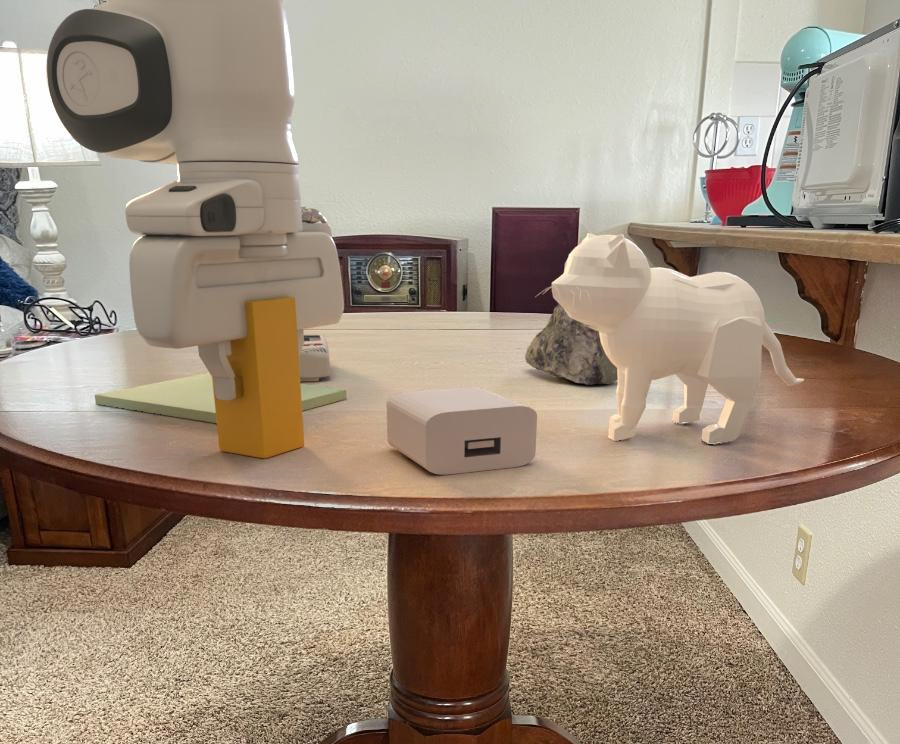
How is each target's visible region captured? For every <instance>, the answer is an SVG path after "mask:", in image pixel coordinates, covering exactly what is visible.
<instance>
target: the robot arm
mask: <svg viewBox="0 0 900 744" xmlns="http://www.w3.org/2000/svg"><path fill="white" fill-rule="evenodd" d="M105 1H106V2H104V3H101V4H98V5H96V6H95V7H92V8H83V9H79V10H76V11H74V12H72V13H71V14H69V15H67V16H66V18H64V19H63V20H62V22H61V23H60V24H59V26H57V28H56V30H55V31H54V34H53V35H52V38H51V40H50V44H49V46H48V50H47V56H46V66H45V67H46V69H45V73H46V84H47V89H48V94H49V98H50V101H51V105H52V107H53V109H54V112H55V114H56V116H57V117H58V120H59V122H60V123H61V125H62V126H63V127H64V129H65V131H66V132H67V133H68V134H69V135H70V137H71V138H72V139H74V141H75V142H77V143H78V144H79V145H80V146H82V147H83V148H85V149H87V150H89V151H91V152H95V153H98V154H100V155H102V156H107V157H110V158H115V159H122V160H133V161H138V162H141V163H152V164H163V165H174V166H175V165H176V167H177V176H178V179H177V180H174V181H171V182H169V183H167V184H165V185H163V186H161V187H159V188H156V189H154V190H153V191H150V192H148V193H145V194H143V195H140V196H139V197H136V198H134V199H132V200H130V201H129V202H128V203H127V204H126V206H125V209H124V210H125V211H124V213H125V221H126V226H127V228H128V230H129V232H131V233H132V234H134V235H139V236H140V237H138V238H137V239H136V240H135V241H134V243H133V244H132V247H131V248H130V254H129V262H128V263H129V265H128V267H129V269H128V270H129V285H130V297H131V306H132V311H133V319H134V324H135V327H136V330H137V333H138V334H139V335H140V337H141V339H143V341H144V342H145V343H146V344H147V345H148V346H150V347H156V348H163V349H173V350H174V349H175V350H177V349H184V348H193V347H197V351H198V357H199V358H200V360H201V361H202V363H203V364H204V367H205V368H206V370H207V371H208V373H210V374H211V376H213V380H214V390H215V396H216V398H217V399H219V400H224V401H231V400H235V399H239V398H242V397H243V395H244V389H243V388H242V387H243V378H242V376H238V375H235V374H234V372H233V370H232V368H231V366H230V364H229V361H228V359H227V357H226V356H230V355H231V354H232V352H231V340H237V339H243V338H246V337H247V319H246V308H245V302H246V301H254V300H263V299H273V298H282V297H294V298H295V303H296V319H297V335H298V351H299V356H300V353H301V350H302V347H303V345H304V335H305V333H304V330H306V329H314V328H318V327H319V328H320V327H324V326H325V327H327V326H331V325H337V324H339V323H340V322H341V319H342V318H343V317H342V316H343V313H344V310H345V299H344V298H345V297H344V288H343V280H342V272H341V266H340V259H339V255H338V250H337V247H336V243H335V241H334V239H333V234H332V233H333V232H332V227H331V225H330V224H329V223H328V222H327V219H326V218H325V217H324V216H323V215H322V214H321V212H320V210H318V209H316V208H311V207H310V208H304V209H302V201H301V200H302V197H301V182H300V181H301V180H300V179H301V178H300V166H299V164H300V162H299V157H298V153H297V151H296V147H295V144H294V140H293V134H292V133H293V132H292V119H293V118H292V117H293V113H294V112H293V111H294V107H295V98H296V95H295V94H296V92H295V79H294V78H295V77H294V64H293V56H292V55H293V54H292V46H291V36H290V30H289V22H288V17H287V10H286V6H285V2H284V0H105Z"/></svg>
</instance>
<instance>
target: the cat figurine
mask: <svg viewBox="0 0 900 744" xmlns="http://www.w3.org/2000/svg"><path fill="white" fill-rule="evenodd" d="M550 289H551V293H552V294H551V295H552V298H553V299H554V300H555V301H556V303H557V304H558V305H559V304H560V305H561V306H562V307H563V308H564V310H565V311H566V313H567V314H568V316H569V317H570V318H572V319H574V320H576V321H579V322H581V323H583V325H584V326H587V327H589V328H591V329H594V330H596V331H599V335H600V340H601V344H602V347H603V349H604V352H605V354H606V355H607V357H608V358H609V360H610V361H611V363H612V364H614V365H615V366H616V367H617V374H618V380H617V387H616V390H615V394H616V395H615V396H616V405H617V413H615V414H612V415H611V416H609V422H608V434H607V438H608V439H610V440H611V441H613V442H616V441H617V442H619V440H621V441H624V440H626V439H630V438H634V437H635V436H636V429H637V428H636V427H637V425H638V423H639V421H640V419H641V418H642V416H643V414H644V411H645V409H646V407H647V406H646V403H647V401H646V400H647V398H648V394H649V391H650V388H651V384H652V381H656V380H660V379H663V378H667V377H671V376H673V375H675V376H676V377H677V378H678V379H679V380H680V382H682V383H683V405H680V406H678V407H677V408H674V409H673V410H672V419H671V421H672V420H674V421H676V422H678V423H682V422H691V423H693V422H692V421H694V422H697V421H699V420H700V417H701V416H700V415H701V413H702V410H703V407H704V402H705V398H706V394H707V390H708V386H709V385H710V386H711V387H712V388H713V389H714V390H716V391H717V392H718V393H719V394H720V395H721V396H722V397H724V398H725V399H726V400H725V403H724V405H723V408H722V410H721V413H720V415H719V418H718V421H717V423H716V424H709V425H707V426H705V427H702V431H701V437H700V438H701V439H702V440H704V441H706V442H708V443H717V442H725V443H729V442H735V441H736V440H737V439H738V438H739V437H740V434H741V432H742V429H743V427H744V424H745V423H746V420H747V417H748V415H749V412H750V409H751V407H752V404H753V401H754V398H755V396H756V392H757V390H758V386H759V383H760V380H761V378H762V354H763V353H762V349H763V347H764V348H765V349H766V350H768V352H769V354H770V357H771V361H772V366H773V368H774V372H775V374H776V376H778V377H779V379H781V380H782V381H783V382H784V383H785V384H786V385H787V386H788V387H792V386H796V385H799V384H801V383H803V382H804V381H805V379H804V378H798V377H796V376H795V374H793V372H792V371H791V370H790V368H789V367H788V365H787V363H786V358H785V355H784V351H783V348H782V345H781V342H780V341H779V339H778V338H777V336H776V335H775V333H774V332H773V330H772V329H771V328H770V326H769V325H768V323H767V322H766V315H765V309H764V306H763V303H762V300H761V298H760V296H759V295H758V293H757V292H756V290H755V289H754V288H753V286H752V285H750V283H748V282H747V281H746V280H744V279H743V278H741V277H739V276H738V275H735V274H733V273H730V272H728V271H727V272H726V271H713V272H707V273H704V274H698V275H694V276H688V275H686V274H684V273H682V272H679V271H677V270H674V269H672V268H666V267H651V266H650V264H649V261H648V258H647V257H646V255H645V254H644V252H643V250H642V249H640V247H638V246H637V245H636V244H635V243H634V242H633V241H631V240H630V239H628V238H626V237H625V235H624V233H620V234H619V233H618V234H599V235H596V234H594V233H591V232H588V233H587V234H586V237H584V238H583V239H582V240H581V243H579V244H578V245H577V246H575V247H574V248H573V249H572V250H571V251H570V253H568V257H567V259H566V261H565V262H564V270H563V273H562V274H561V275H560V276H559V277H558V278H556V279H555V280H554V281H552V282H551V286H549V287H546V288H545V289H544V290H542V291H541V292H540V293H538V294H537V295H535V298H536V297H537V296H539V295H540V294H542V295H544V294H545V293H546V291H549V290H550ZM701 439H700V440H701ZM728 441H729V442H728Z"/></svg>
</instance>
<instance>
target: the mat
mask: <svg viewBox="0 0 900 744" xmlns="http://www.w3.org/2000/svg"><path fill="white" fill-rule="evenodd" d="M300 384H301V400H302V412H303V411H307V410H311V409H314V408H318V407H321V406H326V405H330V404H332V403H336V402H340V401H344V400H347V396H348V395H347V389H345V388H339V387H330V386H329V387H328V386H321V385H314V384H313V385H312V384H304V383H300ZM94 400H95V405H97V404H100V405H99V406H103V405H106V406H105V407H110V406H111V407H110V408H116V407H118V408H117V409H122V408H124V409H123V410H130V411H135V410H137V411H136V412H141V411H143V412H142V413H149V414H154V413H155V414H154V415H160V414H161V415H162V416H166V417H167V416H168V417H174V418H179V419H185V420H186V419H187V420H193V421H199V422H206V423H213V424H217V421H216V411H215V401H214V391H213V381H212V376H211V374H210V373H209V372H206V373H205V372H204V373H199V374H194V375H188V376H183V377H178V378H174V379H169V380H162V381H157V382H153V383H147V384H143V385H137V386H131V387H127V388H122V389H117V390H111V391H106V392H101V393H96V394H95V393H94Z"/></svg>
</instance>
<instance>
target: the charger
mask: <svg viewBox="0 0 900 744" xmlns="http://www.w3.org/2000/svg"><path fill="white" fill-rule="evenodd" d="M537 426H538V413H537V411H536V410H535V409H534V408H531V407H530V406H527V405H524V404H523V403H519V402H517V401H514V400H513V399H510V398H507V397H505V396H503V395H499V394H498V393H495V392H492V391H490V390H487V389H484V388H482V387H479V386H465V387H449V388H437V389H422V390H410V391H409V390H408V391H401V392H398V393H395V394H393V395H391V396H390V397H389V398H388V399H387V401H386V433H387V434H386V435H387V436H386V438H387V439H386V440H387V443H388V444H389V445H390V446H391V447H392V448H394V449H395V450H397V451H398V452H400V453H401V454H403V455H404V456H405V457H407V458H409V459H410V460H412V461H413V462H414V463H416V464H418V465H419V466H420V467H422V468H423V469H425V470H426V471H428V472H429V473H432V474H435V475H440V476H442V475H443V476H448V475H457V474H465V473H475V472H483V471H492V470H493V471H494V470H500V469H501V470H503V469H510V468H511V469H512V468H518V467H522V466H525V465H527V464H529V463H531V462H532V461H533V460H534V459H535V457H536V448H537Z"/></svg>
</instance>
